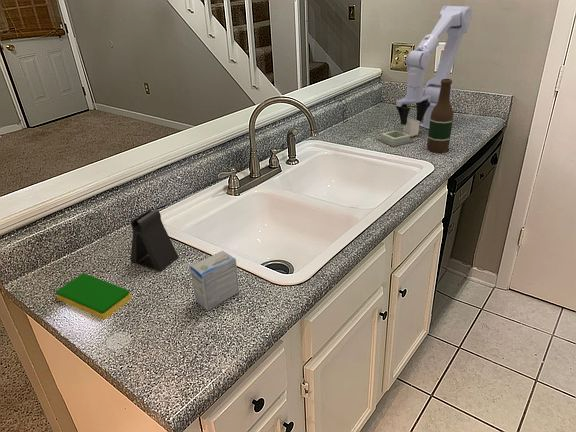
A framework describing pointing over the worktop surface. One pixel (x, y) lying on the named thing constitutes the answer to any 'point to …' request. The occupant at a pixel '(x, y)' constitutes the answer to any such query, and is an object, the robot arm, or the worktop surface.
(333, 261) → the worktop surface
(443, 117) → the beer bottle
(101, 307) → the dish sponge
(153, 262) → the phone stand
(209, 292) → the medicine box
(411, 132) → the plug
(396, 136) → the socket block
